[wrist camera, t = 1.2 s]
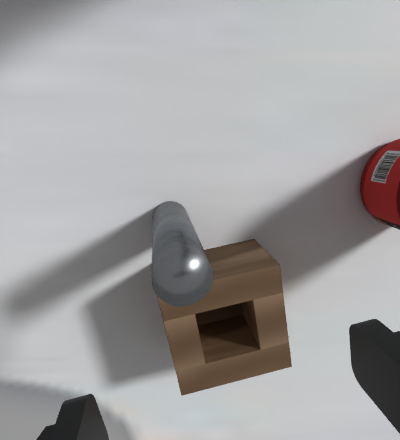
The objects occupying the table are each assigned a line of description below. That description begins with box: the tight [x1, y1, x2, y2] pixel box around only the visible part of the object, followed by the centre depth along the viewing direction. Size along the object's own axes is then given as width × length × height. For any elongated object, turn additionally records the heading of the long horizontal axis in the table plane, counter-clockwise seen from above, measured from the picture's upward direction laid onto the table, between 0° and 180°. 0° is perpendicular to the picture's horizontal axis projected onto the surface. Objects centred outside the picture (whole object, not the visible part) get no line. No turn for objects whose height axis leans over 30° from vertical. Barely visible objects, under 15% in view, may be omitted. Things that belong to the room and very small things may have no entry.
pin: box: [152, 201, 213, 307], centre depth 21 cm, size 3×3×12 cm
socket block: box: [158, 239, 292, 395], centre depth 26 cm, size 9×9×6 cm
